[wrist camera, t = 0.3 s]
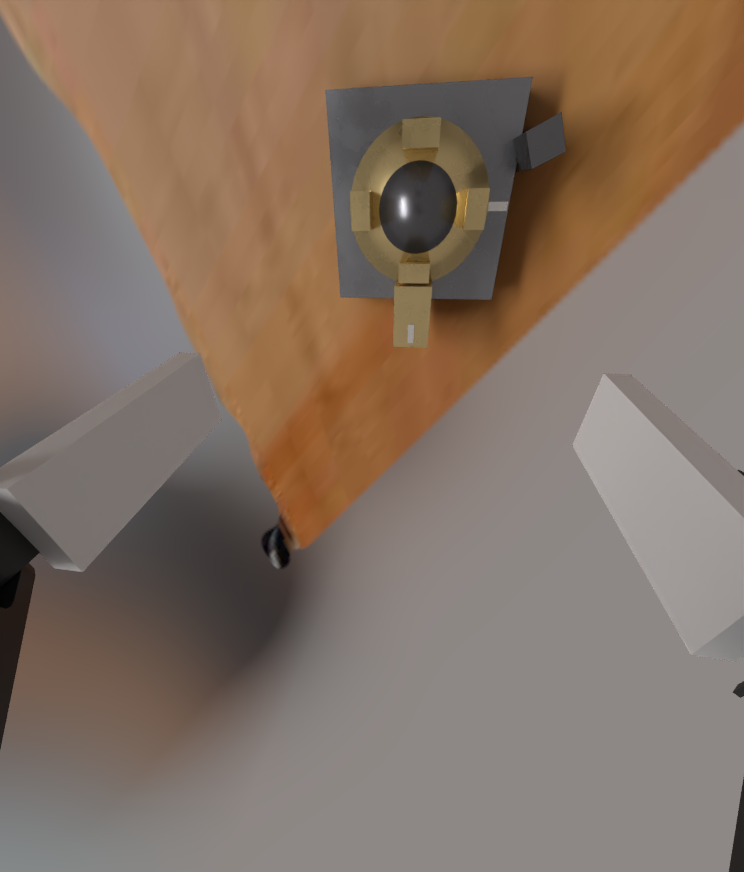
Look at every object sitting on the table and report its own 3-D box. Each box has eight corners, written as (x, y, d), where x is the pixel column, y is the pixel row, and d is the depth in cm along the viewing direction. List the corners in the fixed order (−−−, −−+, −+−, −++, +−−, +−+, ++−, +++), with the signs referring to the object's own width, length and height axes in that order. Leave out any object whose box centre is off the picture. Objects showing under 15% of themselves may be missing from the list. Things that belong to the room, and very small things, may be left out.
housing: (335, 98, 26) (309, 75, 20) (552, 86, 24) (589, 55, 18) (346, 289, 34) (330, 309, 29) (509, 291, 32) (525, 313, 27)
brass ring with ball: (353, 126, 24) (342, 117, 21) (495, 119, 23) (506, 108, 20) (361, 330, 33) (354, 345, 30) (464, 332, 32) (468, 349, 29)
